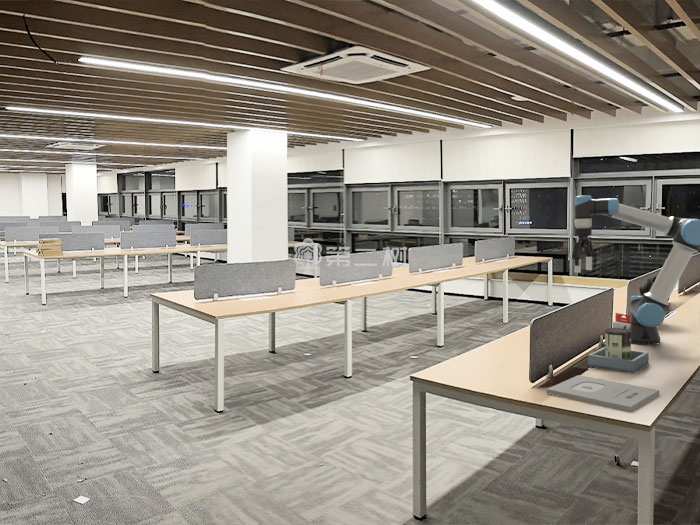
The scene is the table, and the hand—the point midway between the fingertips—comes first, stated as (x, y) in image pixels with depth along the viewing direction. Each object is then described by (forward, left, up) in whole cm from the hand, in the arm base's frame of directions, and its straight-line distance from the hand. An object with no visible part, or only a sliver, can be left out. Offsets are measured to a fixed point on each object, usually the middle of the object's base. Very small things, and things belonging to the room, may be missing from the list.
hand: (583, 271), depth 284 cm
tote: (+17, +34, -37) cm, 53 cm away
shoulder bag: (-70, -16, -37) cm, 81 cm away
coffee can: (+17, +34, -36) cm, 52 cm away
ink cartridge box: (-41, -11, -37) cm, 56 cm away
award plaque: (+54, +58, -37) cm, 88 cm away
